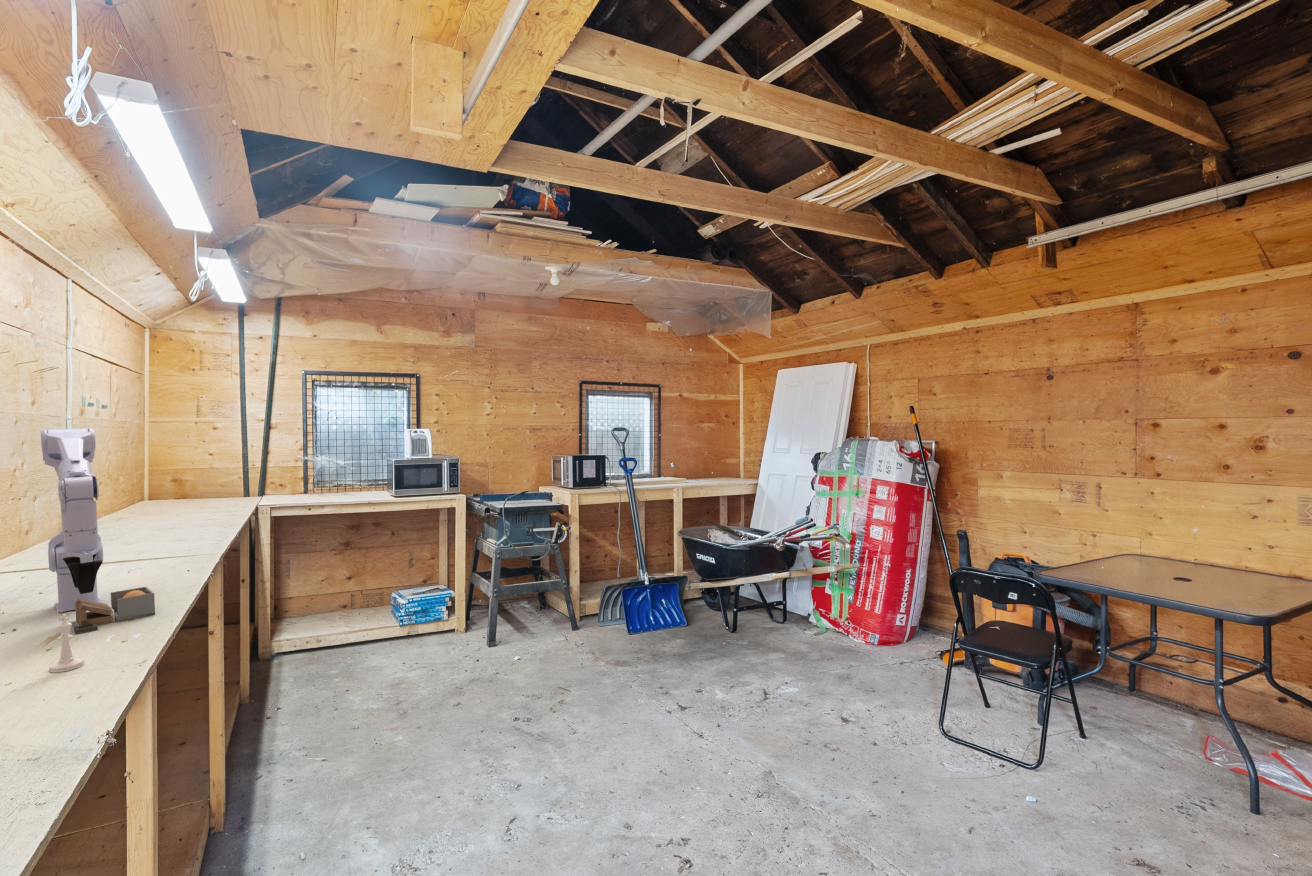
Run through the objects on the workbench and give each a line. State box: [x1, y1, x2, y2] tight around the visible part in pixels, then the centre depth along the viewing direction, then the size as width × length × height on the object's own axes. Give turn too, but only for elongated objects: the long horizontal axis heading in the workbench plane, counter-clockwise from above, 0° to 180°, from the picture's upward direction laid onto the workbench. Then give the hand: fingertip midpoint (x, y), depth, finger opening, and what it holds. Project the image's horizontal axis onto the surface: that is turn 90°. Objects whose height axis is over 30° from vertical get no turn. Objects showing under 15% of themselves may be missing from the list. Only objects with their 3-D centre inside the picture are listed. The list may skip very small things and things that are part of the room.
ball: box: [123, 590, 146, 598], centre depth 152 cm, size 5×5×5 cm
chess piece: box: [48, 613, 85, 673], centre depth 120 cm, size 5×5×10 cm
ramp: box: [74, 599, 116, 626], centre depth 147 cm, size 8×6×5 cm
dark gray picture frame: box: [73, 623, 99, 635], centre depth 141 cm, size 4×4×1 cm
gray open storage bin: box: [110, 586, 156, 622], centre depth 152 cm, size 9×7×5 cm
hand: (83, 589), depth 145 cm, fingers open, 7 cm apart
